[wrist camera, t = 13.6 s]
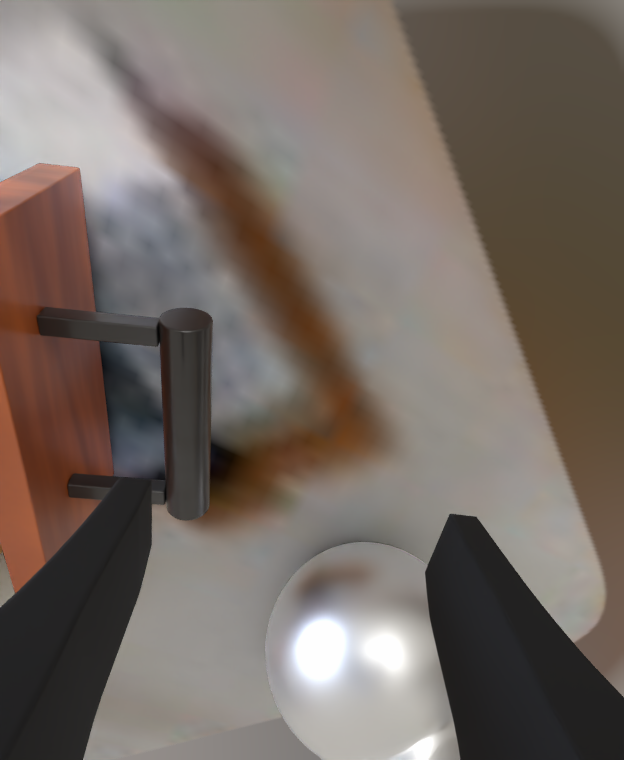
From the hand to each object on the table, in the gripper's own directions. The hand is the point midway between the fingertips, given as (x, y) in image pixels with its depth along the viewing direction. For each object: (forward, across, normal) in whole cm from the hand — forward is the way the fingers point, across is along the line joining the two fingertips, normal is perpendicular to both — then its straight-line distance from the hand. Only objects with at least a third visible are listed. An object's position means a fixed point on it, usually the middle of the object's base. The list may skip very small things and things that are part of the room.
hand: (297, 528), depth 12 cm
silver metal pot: (+10, -5, +13) cm, 17 cm away
